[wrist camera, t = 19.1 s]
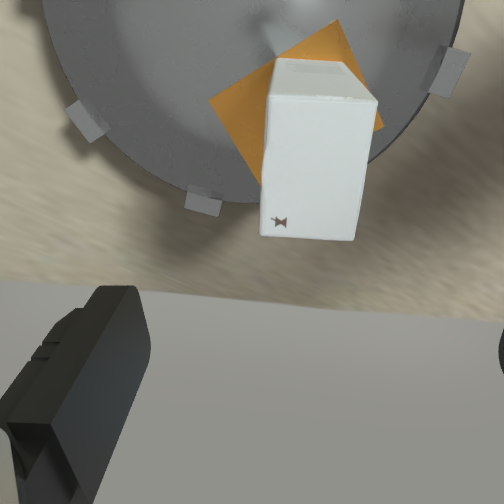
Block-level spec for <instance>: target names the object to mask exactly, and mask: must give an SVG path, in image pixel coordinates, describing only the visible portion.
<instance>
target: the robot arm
mask: <svg viewBox="0 0 504 504" xmlns="http://www.w3.org/2000/svg"><path fill="white" fill-rule="evenodd" d="M150 350H151V344H150V336H149V332H148V328H147V324H146V320H145V316H144V312H143V308H142V304H141V300H140V296H139V292H138V290H137V288H136V287H135V286H99V287H98V288H97V289H96V290H95V291H94V293H93V294H92V296H91V297H90V299H89V300H88V302H87V303H86V305H85V306H84V308H75V309H74V310H73V311H71V312H70V313H69V314H67V315H66V316H65V317H64V318H62V319H61V320H60V321H58V322H57V323H56V324H55V325H54V326H53V328H52V329H51V331H50V332H49V333H48V335H47V336H46V337H45V339H44V340H43V342H42V346H39V347H38V348H37V350H36V351H35V352H34V354H33V355H32V357H31V361H28V362H27V364H26V365H25V366H24V368H23V369H22V370H21V372H20V373H19V374H18V376H17V377H16V379H15V380H14V381H13V383H12V384H11V385H10V387H9V388H8V390H7V391H6V392H5V394H4V395H3V396H2V398H1V399H0V504H93V501H94V499H95V496H96V494H97V491H98V489H99V486H100V484H101V481H102V479H103V476H104V474H105V471H106V469H107V466H108V464H109V461H110V459H111V456H112V454H113V451H114V449H115V446H116V444H117V441H118V439H119V436H120V434H121V431H122V429H123V426H124V423H125V421H126V418H127V416H128V413H129V411H130V408H131V406H132V403H133V401H134V398H135V396H136V393H137V390H138V388H139V386H140V383H141V381H142V378H143V375H144V373H145V371H146V368H147V365H148V363H149V358H150ZM499 361H500V366H501V369H502V371H503V373H504V330H503V333H502V336H501V339H500V343H499Z"/></svg>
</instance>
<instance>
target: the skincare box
mask: <svg viewBox="0 0 504 504" xmlns="http://www.w3.org/2000/svg"><path fill="white" fill-rule="evenodd" d="M377 106H378V101H377V100H376V98H375V97H374V96H373V95H372V94H371V93H370V92H369V91H368V90H367V89H366V87H365V86H364V85H363V84H362V83H361V82H360V81H359V80H358V79H357V77H356V76H355V75H354V74H353V73H352V72H351V71H350V70H349V68H348V67H347V66H346V65H345V64H344V63H343V62H338V61H320V60H306V59H290V58H276V60H275V63H274V68H273V72H272V76H271V80H270V84H269V89H268V94H267V97H266V112H265V130H264V148H263V161H262V169H261V191H260V212H259V235H260V236H262V237H286V238H305V239H319V240H335V241H353V240H354V237H355V231H356V226H357V221H358V216H359V212H360V206H361V201H362V195H363V188H364V182H365V175H366V169H367V162H368V157H369V151H370V145H371V140H372V134H373V128H374V122H375V116H376V111H377Z"/></svg>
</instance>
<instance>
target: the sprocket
mask: <svg viewBox="0 0 504 504" xmlns="http://www.w3.org/2000/svg"><path fill="white" fill-rule="evenodd" d="M42 5H43V11H44V16H45V20H46V23H47V27H48V30H49V34H50V37H51V40H52V44H53V47H54V49H55V51H56V54H57V56H58V59H59V61H60V64H61V66H62V69H63V71H64V73H65V75H66V77H67V79H68V81H69V83H70V85H71V86H72V88H73V90H74V92H75V94H76V96H77V97H78V99H79V100H77V101H76V102H75V103H73V104H72V105H70V106H69V107H68V108H66V109H65V110H64V111H65V112H66V114H67V115H68V116H69V117H70V119H71V120H72V121H73V123H74V124H75V125H76V127H77V128H78V129H79V130H80V132H81V133H82V134H83V136H84V137H85V138H86V139H87V141H88V142H89V143H92V142H93V141H95V140H96V139H98V138H99V137H101V136H102V135H104V134H105V135H106V136H107V137H108V138H109V139H110V140H111V141H112V142H113V143H114V144H115V145H116V146H117V147H118V148H119V149H120V150H121V151H122V152H123V153H124V154H125V155H127V156H128V157H129V158H130V159H132V160H133V161H134V162H136V163H137V164H138V165H139V166H141V167H142V168H143V169H145V170H147V171H148V172H150V173H151V174H153V175H155V176H156V177H158V178H160V179H161V180H163V181H165V182H167V183H169V184H171V185H173V186H176V187H178V188H180V189H182V190H184V191H187V195H186V201H185V206H184V208H185V209H189V210H193V211H196V212H200V213H204V214H208V215H211V216H215V217H219V214H220V211H221V208H222V204H223V201H225V202H237V203H260V191H261V169H262V161H263V148H264V130H265V112H266V97H267V94H268V89H269V84H270V80H271V76H272V72H273V68H274V63H275V60H276V58H290V59H306V60H320V61H338V62H343V63H344V64H345V65H346V66H347V67H348V68H349V70H350V71H351V72H352V73H353V74H354V75H355V76H356V77H357V79H358V80H359V81H360V82H361V83H362V84H363V85H364V86H365V87H366V89H367V90H368V91H369V92H370V93H371V94H372V95H373V96H374V97H375V98H376V100H377V101H378V106H377V111H376V116H375V122H374V128H373V134H372V140H371V145H370V151H369V157H368V162H369V161H370V160H371V159H373V158H374V157H375V156H376V155H377V154H378V153H379V152H380V151H381V150H383V149H384V148H385V147H386V146H387V145H388V144H389V143H390V142H391V141H392V140H393V139H394V138H395V137H396V135H397V134H398V133H399V132H400V131H401V130H402V128H403V127H404V126H405V125H406V124H407V123H408V121H409V120H410V119H411V117H412V116H413V114H414V113H415V111H416V110H417V108H418V107H419V106H420V104H421V103H422V101H423V100H424V98H425V97H426V95H427V93H431V94H434V95H438V96H441V97H444V98H448V99H449V98H450V96H451V94H452V92H453V90H454V87H455V85H456V83H457V81H458V79H459V77H460V75H461V73H462V71H463V69H464V67H465V65H466V63H467V61H468V59H469V56H470V53H467V52H464V51H461V50H458V49H455V48H451V47H449V44H450V41H451V38H452V34H453V30H454V26H455V23H456V19H457V15H458V11H459V5H460V0H42Z"/></svg>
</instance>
